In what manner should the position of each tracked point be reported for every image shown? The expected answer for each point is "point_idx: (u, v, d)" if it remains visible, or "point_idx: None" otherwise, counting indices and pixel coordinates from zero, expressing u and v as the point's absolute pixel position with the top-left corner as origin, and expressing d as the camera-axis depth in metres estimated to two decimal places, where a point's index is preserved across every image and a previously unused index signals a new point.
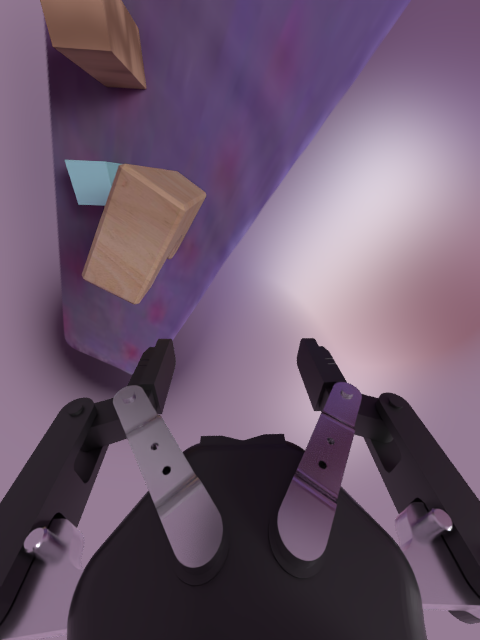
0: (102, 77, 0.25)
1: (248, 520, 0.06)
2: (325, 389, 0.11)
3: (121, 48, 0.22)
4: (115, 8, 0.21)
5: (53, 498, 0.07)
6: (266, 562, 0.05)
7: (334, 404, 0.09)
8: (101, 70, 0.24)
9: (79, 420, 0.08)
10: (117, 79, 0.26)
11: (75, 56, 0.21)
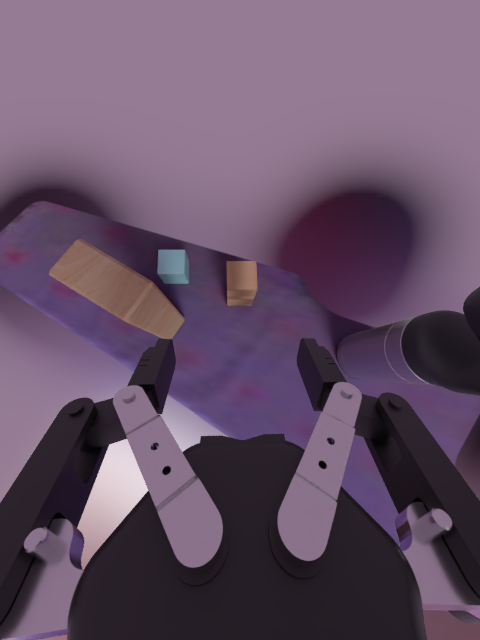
0: None
1: (248, 520, 0.06)
2: (325, 389, 0.11)
3: (233, 295, 0.39)
4: (247, 295, 0.40)
5: (53, 498, 0.07)
6: (266, 562, 0.05)
7: (334, 404, 0.09)
8: None
9: (79, 420, 0.08)
10: None
11: None
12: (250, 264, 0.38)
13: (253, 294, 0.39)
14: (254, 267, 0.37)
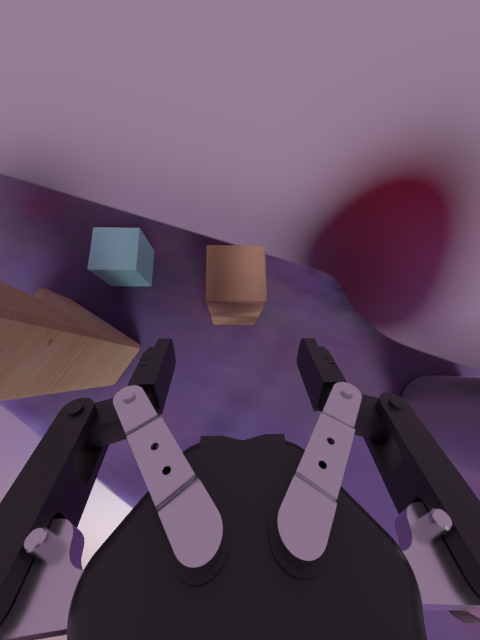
0: None
1: (248, 520, 0.06)
2: (325, 389, 0.11)
3: (221, 310, 0.21)
4: (247, 310, 0.21)
5: (53, 498, 0.07)
6: (266, 562, 0.05)
7: (334, 404, 0.09)
8: None
9: (79, 420, 0.08)
10: None
11: None
12: (252, 252, 0.19)
13: (258, 310, 0.21)
14: (261, 258, 0.19)
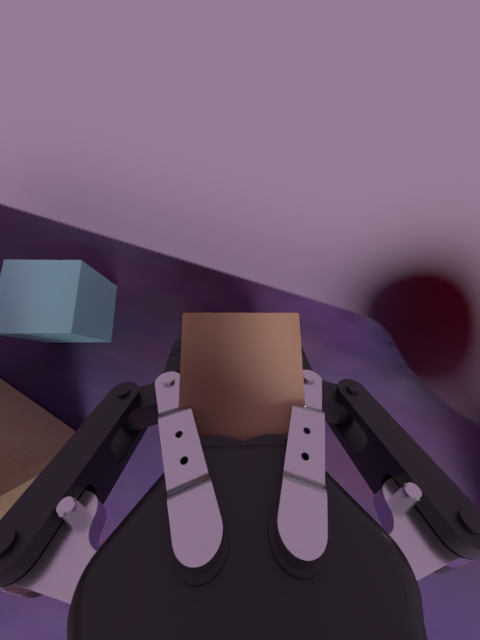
0: None
1: (248, 520, 0.06)
2: None
3: None
4: None
5: (88, 471, 0.07)
6: (266, 562, 0.05)
7: None
8: None
9: (127, 401, 0.09)
10: None
11: None
12: (275, 328, 0.09)
13: None
14: (293, 339, 0.09)
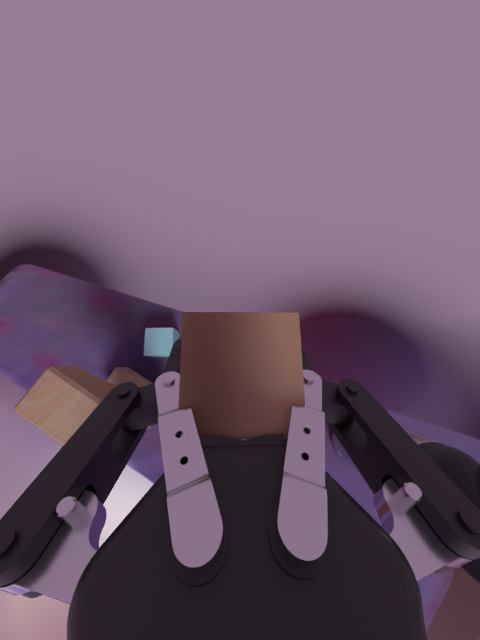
0: None
1: (248, 520, 0.06)
2: None
3: None
4: None
5: (88, 471, 0.07)
6: (266, 562, 0.05)
7: None
8: None
9: (128, 401, 0.09)
10: None
11: None
12: (275, 327, 0.09)
13: None
14: (293, 339, 0.09)
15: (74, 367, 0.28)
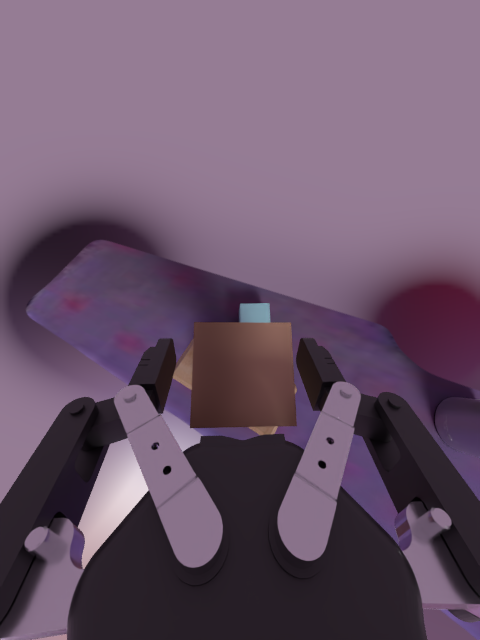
0: None
1: (248, 520, 0.06)
2: (324, 389, 0.11)
3: None
4: None
5: (54, 497, 0.07)
6: (266, 562, 0.05)
7: (333, 403, 0.09)
8: None
9: (80, 419, 0.08)
10: None
11: None
12: (271, 335, 0.11)
13: None
14: (285, 345, 0.11)
15: None
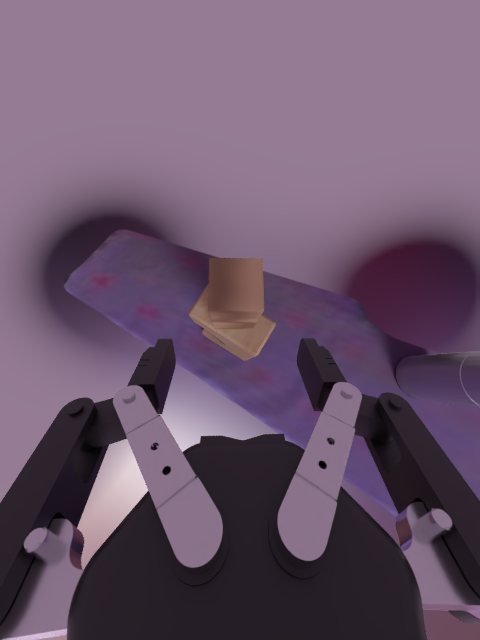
0: None
1: (248, 520, 0.06)
2: (325, 389, 0.11)
3: (222, 317, 0.23)
4: (246, 317, 0.23)
5: (53, 498, 0.07)
6: (266, 562, 0.05)
7: (334, 404, 0.09)
8: None
9: (79, 420, 0.08)
10: None
11: None
12: (251, 265, 0.21)
13: (256, 317, 0.23)
14: (259, 270, 0.21)
15: None
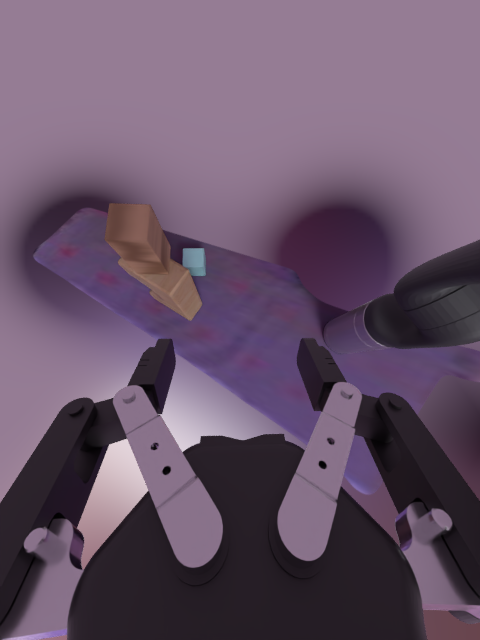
0: None
1: (248, 520, 0.06)
2: (325, 389, 0.11)
3: (125, 252, 0.30)
4: (145, 253, 0.30)
5: (53, 498, 0.07)
6: (266, 562, 0.05)
7: (334, 404, 0.09)
8: None
9: (79, 420, 0.08)
10: None
11: None
12: (141, 209, 0.28)
13: (151, 252, 0.30)
14: (146, 212, 0.28)
15: None
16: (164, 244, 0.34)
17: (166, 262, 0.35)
